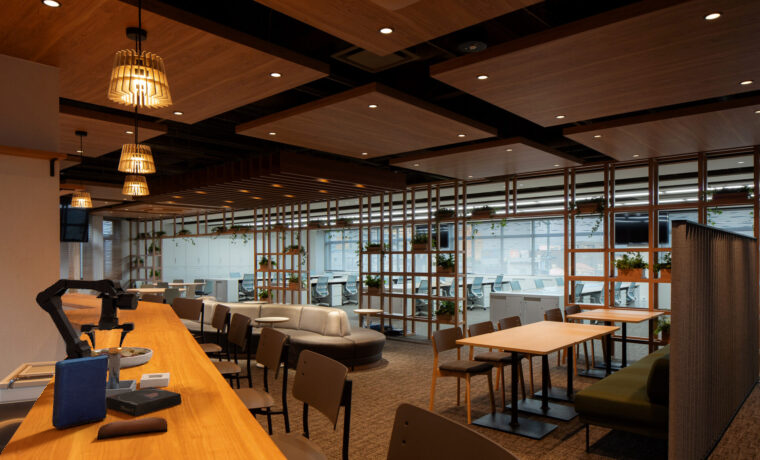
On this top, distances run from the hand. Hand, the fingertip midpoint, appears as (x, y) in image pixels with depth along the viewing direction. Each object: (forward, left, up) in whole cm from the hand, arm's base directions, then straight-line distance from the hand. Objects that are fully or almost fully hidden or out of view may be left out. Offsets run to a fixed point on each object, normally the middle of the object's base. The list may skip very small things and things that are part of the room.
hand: (107, 348), depth 199 cm
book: (+2, -54, -13) cm, 56 cm away
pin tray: (+6, -22, -13) cm, 26 cm away
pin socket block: (+19, -9, -13) cm, 25 cm away
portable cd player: (+18, -39, -14) cm, 45 cm away
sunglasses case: (+18, -65, -14) cm, 69 cm away
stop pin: (+6, -22, -12) cm, 26 cm away
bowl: (-1, +37, -14) cm, 39 cm away
